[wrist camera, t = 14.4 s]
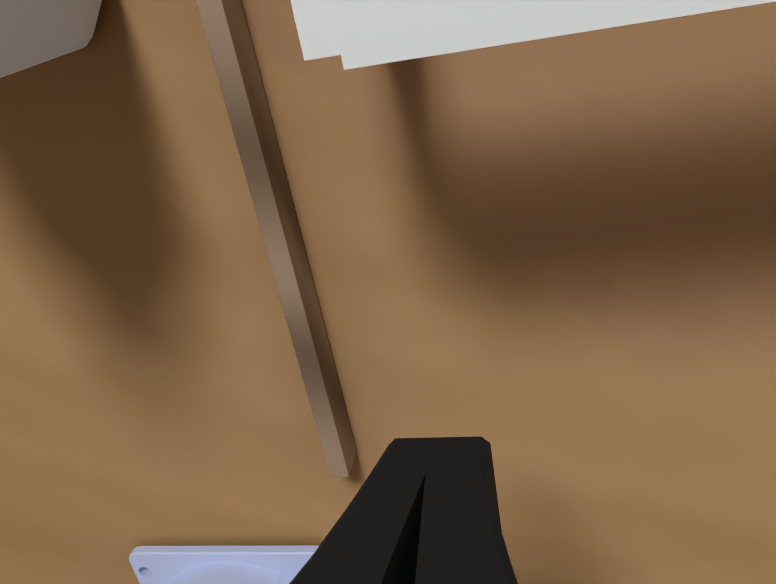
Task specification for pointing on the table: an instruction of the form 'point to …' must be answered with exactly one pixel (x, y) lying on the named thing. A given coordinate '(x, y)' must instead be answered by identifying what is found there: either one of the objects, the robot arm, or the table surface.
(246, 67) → the track
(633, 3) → the clamp arch
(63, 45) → the eye dropper bottle
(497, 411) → the table surface
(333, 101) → the table surface
